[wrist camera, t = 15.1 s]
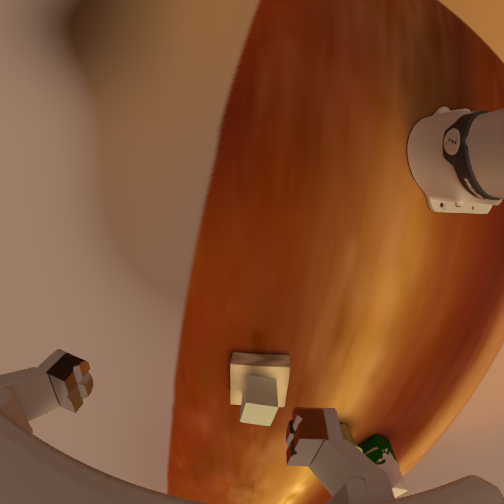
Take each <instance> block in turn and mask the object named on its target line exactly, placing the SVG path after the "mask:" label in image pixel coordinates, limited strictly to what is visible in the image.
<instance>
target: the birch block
mask: <svg viewBox="0 0 504 504" xmlns="http://www.w3.org/2000/svg"><path fill="white" fill-rule="evenodd" d="M289 373H290V359H289V355H269V354H250V353H236V352H233V354H232V359H231V363H230V384H231V404H235V405H241V403H242V393H243V390H244V386H245V383H246V379H247V376H248V375H254V376H260V377H266V378H273V379H277V394H278V407H284V406H285V400H286V393H287V387H288V380H289Z"/></svg>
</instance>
